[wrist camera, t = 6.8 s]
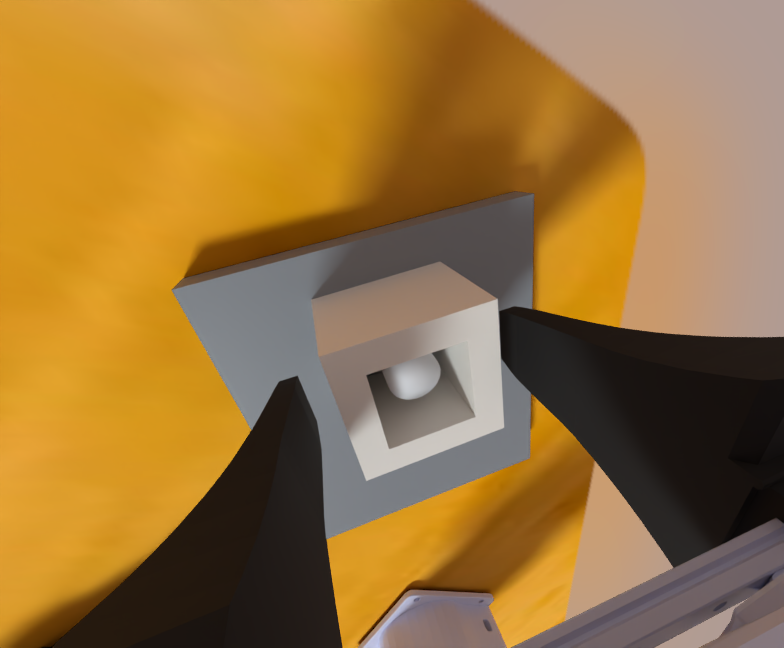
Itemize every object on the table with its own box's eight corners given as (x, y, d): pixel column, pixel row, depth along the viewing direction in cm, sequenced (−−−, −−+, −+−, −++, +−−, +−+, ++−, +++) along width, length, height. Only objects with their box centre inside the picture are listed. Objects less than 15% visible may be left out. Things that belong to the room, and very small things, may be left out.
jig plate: (517, 443, 20) (566, 503, 17) (314, 522, 18) (320, 609, 15) (515, 191, 13) (599, 201, 10) (183, 278, 11) (130, 332, 8)
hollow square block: (454, 365, 15) (504, 428, 11) (348, 402, 14) (366, 481, 11) (440, 261, 12) (497, 299, 9) (311, 299, 12) (318, 357, 8)
